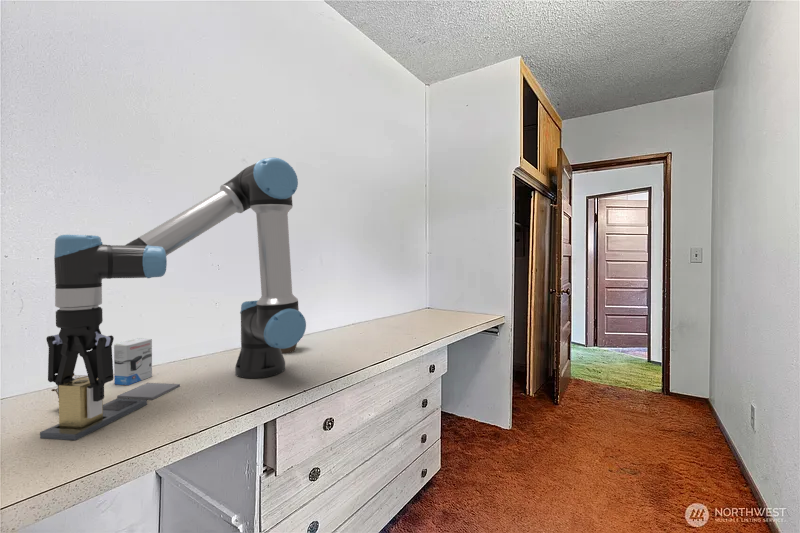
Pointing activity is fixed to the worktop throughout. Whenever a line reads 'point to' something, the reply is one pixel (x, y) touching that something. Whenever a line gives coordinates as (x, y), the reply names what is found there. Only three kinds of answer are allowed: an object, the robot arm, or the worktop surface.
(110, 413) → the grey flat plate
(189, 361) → the worktop surface
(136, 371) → the ink box
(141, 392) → the pad
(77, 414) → the brass block with hole
